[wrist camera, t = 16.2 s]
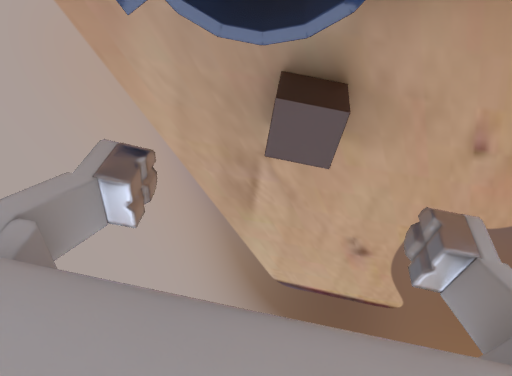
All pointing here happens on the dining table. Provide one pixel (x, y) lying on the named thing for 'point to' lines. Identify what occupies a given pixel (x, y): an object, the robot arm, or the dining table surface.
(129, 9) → the pot
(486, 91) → the dining table surface
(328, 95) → the brownie
